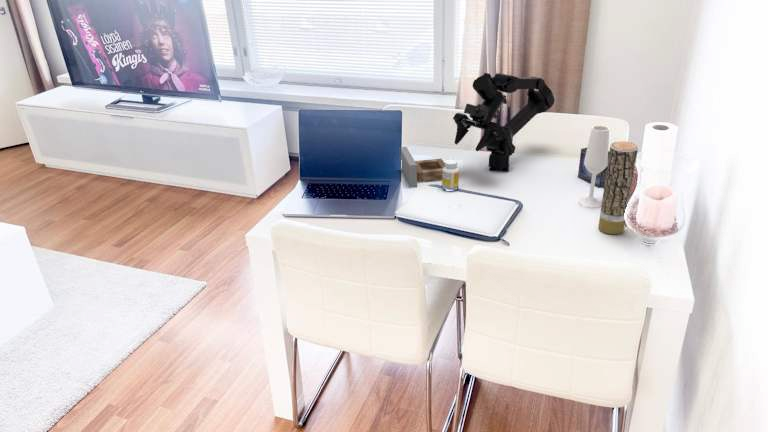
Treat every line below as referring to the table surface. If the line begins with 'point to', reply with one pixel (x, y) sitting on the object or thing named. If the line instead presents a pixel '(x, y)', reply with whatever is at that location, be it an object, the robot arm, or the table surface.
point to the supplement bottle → (450, 174)
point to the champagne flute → (596, 160)
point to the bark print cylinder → (617, 186)
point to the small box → (586, 175)
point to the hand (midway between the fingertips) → (465, 147)
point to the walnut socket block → (429, 170)
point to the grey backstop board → (409, 167)
